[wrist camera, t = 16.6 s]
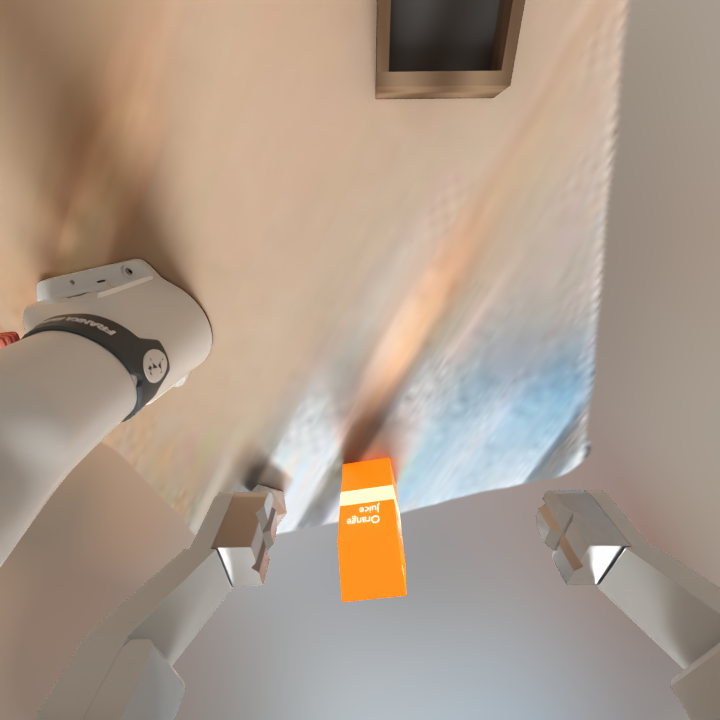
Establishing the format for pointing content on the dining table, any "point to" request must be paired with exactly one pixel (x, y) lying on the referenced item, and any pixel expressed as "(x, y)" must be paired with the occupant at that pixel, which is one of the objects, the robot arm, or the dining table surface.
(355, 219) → the dining table surface
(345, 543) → the orange juice
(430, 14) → the box
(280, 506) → the die
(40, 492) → the robot arm
